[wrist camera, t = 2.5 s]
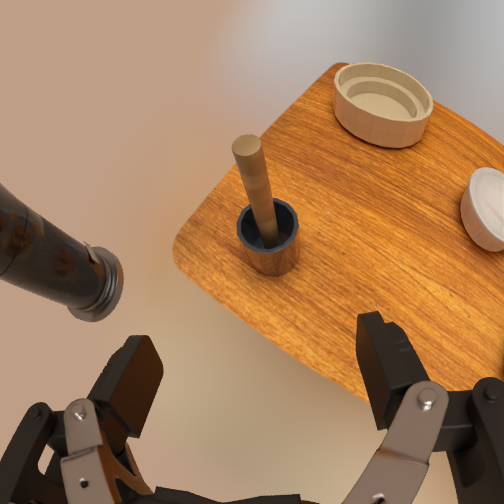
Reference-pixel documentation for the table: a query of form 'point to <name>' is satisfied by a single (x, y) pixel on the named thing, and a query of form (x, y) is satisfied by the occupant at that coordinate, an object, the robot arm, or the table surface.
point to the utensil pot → (275, 258)
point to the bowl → (381, 104)
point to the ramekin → (485, 208)
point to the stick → (257, 187)
